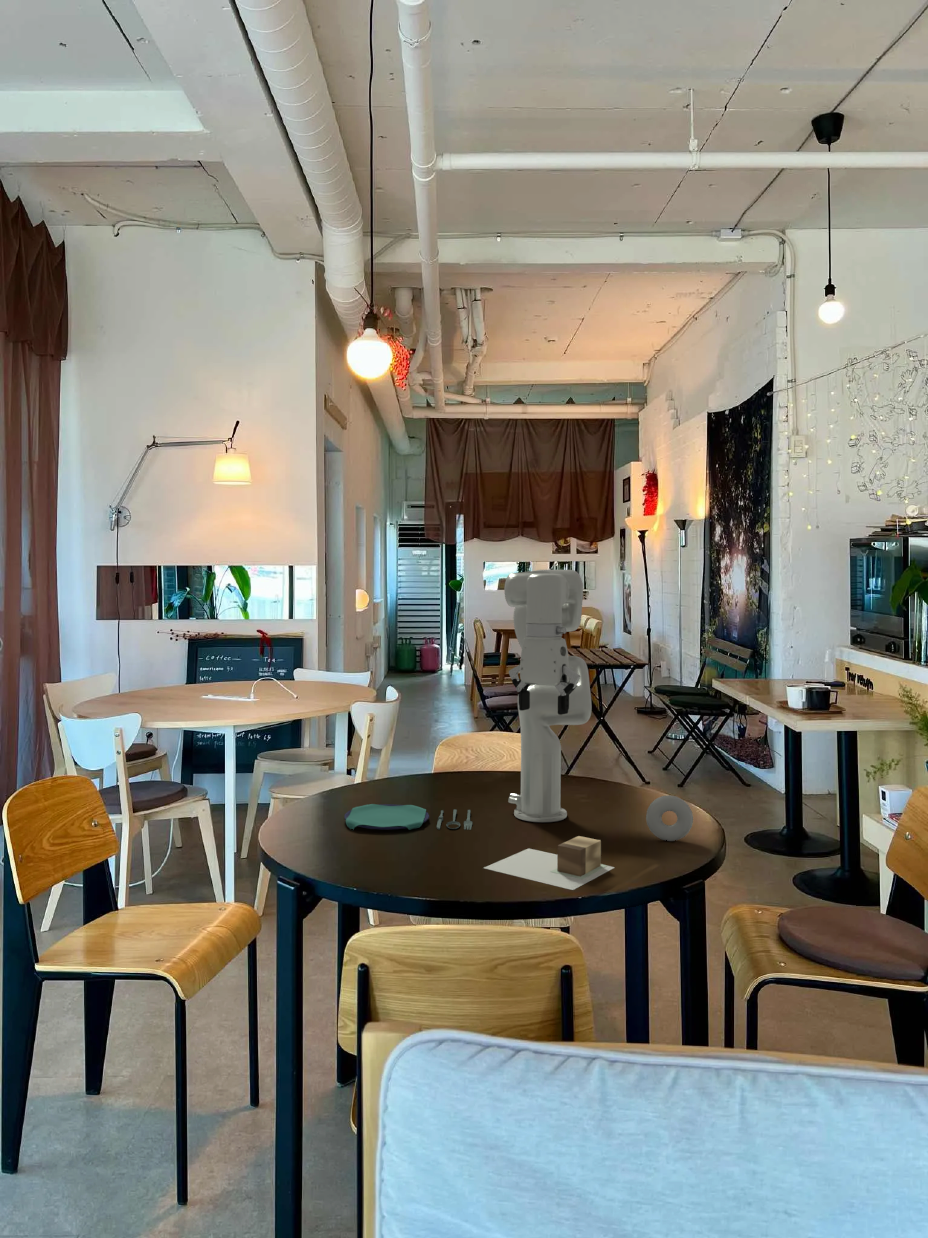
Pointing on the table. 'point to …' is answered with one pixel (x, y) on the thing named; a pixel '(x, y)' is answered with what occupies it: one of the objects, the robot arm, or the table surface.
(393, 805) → the cutlery set
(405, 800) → the table surface
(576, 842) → the oak block
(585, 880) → the grey mat
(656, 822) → the donut
